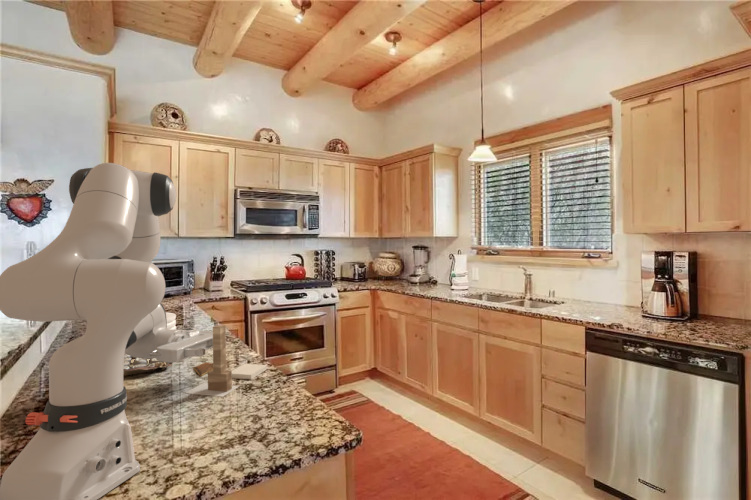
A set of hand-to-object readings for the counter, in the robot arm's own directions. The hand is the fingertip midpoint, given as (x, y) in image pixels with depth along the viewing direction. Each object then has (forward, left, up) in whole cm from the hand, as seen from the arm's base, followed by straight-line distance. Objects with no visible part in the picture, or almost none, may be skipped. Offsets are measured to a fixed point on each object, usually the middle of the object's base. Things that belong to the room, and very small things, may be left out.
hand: (214, 347), depth 113 cm
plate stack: (+48, +56, -12) cm, 74 cm away
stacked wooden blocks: (0, -2, -12) cm, 12 cm away
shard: (+17, +10, -13) cm, 23 cm away
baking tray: (+21, +36, -13) cm, 44 cm away
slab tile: (+9, -4, -11) cm, 15 cm away
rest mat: (-1, 0, -12) cm, 12 cm away
